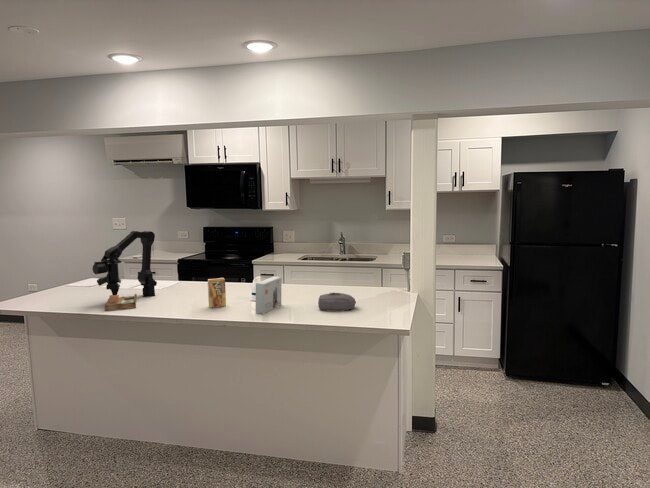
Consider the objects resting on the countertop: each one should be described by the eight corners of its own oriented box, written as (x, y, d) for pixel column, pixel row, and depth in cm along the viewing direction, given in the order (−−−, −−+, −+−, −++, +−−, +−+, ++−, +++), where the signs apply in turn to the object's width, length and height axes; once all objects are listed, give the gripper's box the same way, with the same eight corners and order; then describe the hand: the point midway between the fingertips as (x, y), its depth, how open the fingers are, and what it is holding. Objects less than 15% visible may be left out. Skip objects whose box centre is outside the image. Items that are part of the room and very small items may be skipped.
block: (119, 300, 258) (118, 294, 257) (118, 301, 253) (118, 296, 253) (110, 300, 256) (110, 295, 256) (109, 302, 252) (109, 297, 252)
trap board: (136, 299, 268) (136, 293, 268) (135, 308, 247) (135, 302, 246) (109, 301, 263) (108, 296, 262) (105, 311, 241) (105, 305, 241)
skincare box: (264, 314, 230) (263, 283, 228) (255, 313, 232) (254, 283, 230) (282, 304, 250) (281, 276, 248) (273, 303, 252) (272, 275, 250)
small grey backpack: (317, 311, 234) (355, 312, 232) (316, 296, 233) (355, 296, 231) (320, 304, 249) (356, 305, 247) (319, 289, 248) (356, 290, 246)
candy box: (224, 304, 252) (223, 277, 250) (226, 306, 248) (225, 278, 246) (208, 306, 248) (207, 279, 246) (210, 308, 244) (208, 280, 242)
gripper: (99, 269, 262) (101, 296, 264) (95, 275, 245) (97, 303, 247) (120, 268, 266) (121, 294, 268) (117, 273, 249) (119, 301, 251)
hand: (114, 298), depth 258 cm, fingers closed
